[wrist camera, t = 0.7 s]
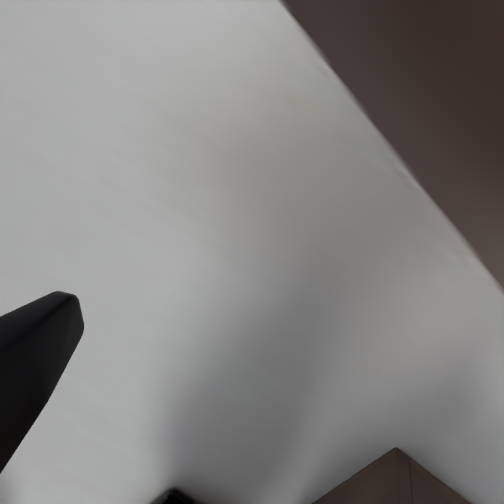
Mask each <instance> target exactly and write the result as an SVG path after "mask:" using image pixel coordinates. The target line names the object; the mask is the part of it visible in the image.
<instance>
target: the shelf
mask: <svg viewBox="0 0 504 504" xmlns="http://www.w3.org/2000/svg"><path fill="white" fill-rule="evenodd" d="M313 504H470V503H468V502H467V501H466V500H464V499H463V498H462V497H460V496H459V495H458V494H456V493H455V492H454V491H452V490H451V489H450V488H449V487H447V486H446V485H445V484H443V483H442V482H441V481H439V480H438V479H437V478H435V477H434V476H433V475H431V474H430V473H429V472H427V471H426V470H425V469H423V468H422V467H421V466H420V465H418V464H417V463H416V462H414V461H413V460H412V459H410V458H409V457H408V456H407V455H405V454H404V453H403V452H401V451H400V450H399V449H397V448H394V449H393V450H392V451H390V452H389V453H387V454H386V455H384V456H383V457H381V458H380V459H378V460H377V461H375V462H374V463H372V464H371V465H369V466H368V467H366V468H365V469H363V470H362V471H360V472H359V473H357V474H356V475H354V476H353V477H351V478H350V479H349V480H347V481H346V482H344V483H343V484H341V485H340V486H338V487H337V488H335V489H334V490H332V491H331V492H329V493H328V494H326V495H325V496H323V497H322V498H320V499H319V500H317V501H316V502H314V503H313Z"/></svg>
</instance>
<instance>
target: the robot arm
mask: <svg viewBox="0 0 504 504" xmlns="http://www.w3.org/2000/svg"><path fill="white" fill-rule="evenodd" d="M83 331H84V322H83V317H82V312H81V308H80V303H79V299H78V298H77V297H76V295H74V294H70V293H65V292H61V291H55V292H52V293H50V294H48V295H46V296H44V297H42V298H39V299H37V300H35V301H33V302H31V303H29V304H27V305H24V306H22V307H20V308H18V309H16V310H14V311H11V312H9V313H7V314H5V315H3V316H1V317H0V473H1V472H2V470H3V469H4V467H5V466H6V464H7V463H8V461H9V460H10V458H11V457H12V455H13V454H14V452H15V451H16V449H17V448H18V446H19V445H20V443H21V442H22V440H23V439H24V437H25V435H26V434H27V432H28V431H29V429H30V428H31V426H32V425H33V423H34V422H35V420H36V419H37V417H38V416H39V414H40V413H41V411H42V410H43V408H44V406H45V405H46V403H47V402H48V400H49V398H50V396H51V394H52V393H53V391H54V389H55V387H56V385H57V383H58V381H59V379H60V377H61V375H62V374H63V372H64V370H65V368H66V366H67V364H68V362H69V360H70V358H71V356H72V354H73V352H74V351H75V349H76V347H77V345H78V343H79V341H80V339H81V337H82V334H83ZM155 504H195V503H193V502H192V501H191V500H189V499H188V498H186V497H185V496H184V495H182V494H181V493H179V492H178V491H176V490H170V491H168V492H167V493H166V494H165V495H164V496H163V497H161V498H160V499H159V500H158V501H157V502H156V503H155Z"/></svg>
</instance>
